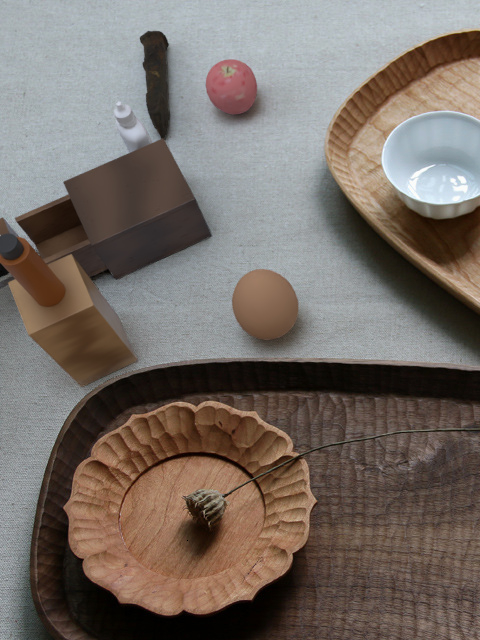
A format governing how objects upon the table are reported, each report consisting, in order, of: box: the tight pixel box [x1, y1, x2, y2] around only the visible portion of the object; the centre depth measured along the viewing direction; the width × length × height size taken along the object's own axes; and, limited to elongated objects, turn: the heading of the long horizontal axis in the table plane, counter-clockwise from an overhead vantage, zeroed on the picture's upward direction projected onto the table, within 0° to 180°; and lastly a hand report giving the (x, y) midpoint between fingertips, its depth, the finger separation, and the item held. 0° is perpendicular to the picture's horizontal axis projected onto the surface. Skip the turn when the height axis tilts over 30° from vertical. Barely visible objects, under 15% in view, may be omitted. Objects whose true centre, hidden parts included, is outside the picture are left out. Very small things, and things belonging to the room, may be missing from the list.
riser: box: [8, 254, 139, 388], centre depth 101 cm, size 8×8×15 cm
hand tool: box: [139, 30, 171, 140], centre depth 123 cm, size 19×4×5 cm, turn 7°
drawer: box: [0, 193, 109, 290], centre depth 110 cm, size 18×10×7 cm, turn 118°
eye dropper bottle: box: [113, 101, 153, 153], centre depth 115 cm, size 4×6×12 cm
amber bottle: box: [0, 233, 65, 307], centre depth 90 cm, size 4×4×10 cm
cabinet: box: [63, 138, 213, 281], centre depth 112 cm, size 15×12×9 cm
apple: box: [205, 58, 258, 115], centre depth 120 cm, size 7×7×8 cm
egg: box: [231, 268, 300, 341], centre depth 103 cm, size 8×8×11 cm
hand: (4, 269), depth 109 cm, fingers closed
